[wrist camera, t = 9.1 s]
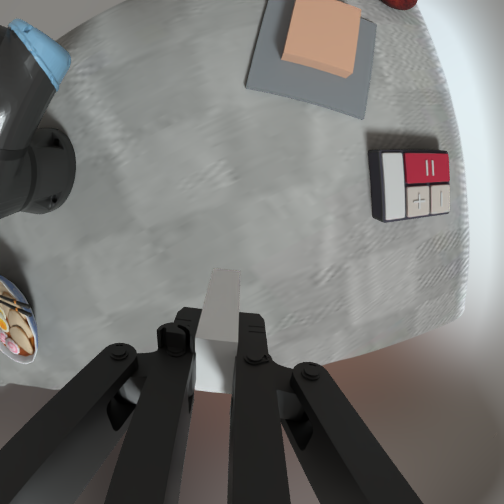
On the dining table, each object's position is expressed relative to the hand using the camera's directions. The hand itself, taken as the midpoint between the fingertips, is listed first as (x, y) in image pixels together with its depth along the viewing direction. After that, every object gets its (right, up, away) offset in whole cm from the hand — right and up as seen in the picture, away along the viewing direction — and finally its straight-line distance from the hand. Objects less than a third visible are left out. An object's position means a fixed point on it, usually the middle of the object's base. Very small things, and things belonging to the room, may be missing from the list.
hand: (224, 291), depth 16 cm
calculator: (+28, +14, +25) cm, 39 cm away
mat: (+11, +33, +17) cm, 39 cm away
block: (+11, +29, +16) cm, 34 cm away
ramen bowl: (-52, -10, +30) cm, 61 cm away
